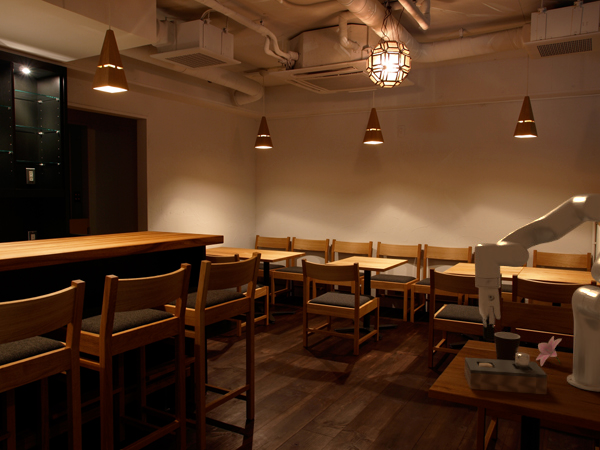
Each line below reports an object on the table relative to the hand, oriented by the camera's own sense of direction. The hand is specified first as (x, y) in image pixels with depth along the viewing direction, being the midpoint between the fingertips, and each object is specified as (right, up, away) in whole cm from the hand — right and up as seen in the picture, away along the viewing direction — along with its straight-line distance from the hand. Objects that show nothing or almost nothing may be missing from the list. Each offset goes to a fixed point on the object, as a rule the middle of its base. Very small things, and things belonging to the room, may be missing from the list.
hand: (488, 338), depth 153 cm
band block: (+4, -14, 0) cm, 15 cm away
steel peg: (+10, -11, -2) cm, 15 cm away
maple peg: (-1, -14, +1) cm, 14 cm away
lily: (+29, -14, +20) cm, 38 cm away
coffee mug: (+16, -14, +21) cm, 30 cm away
